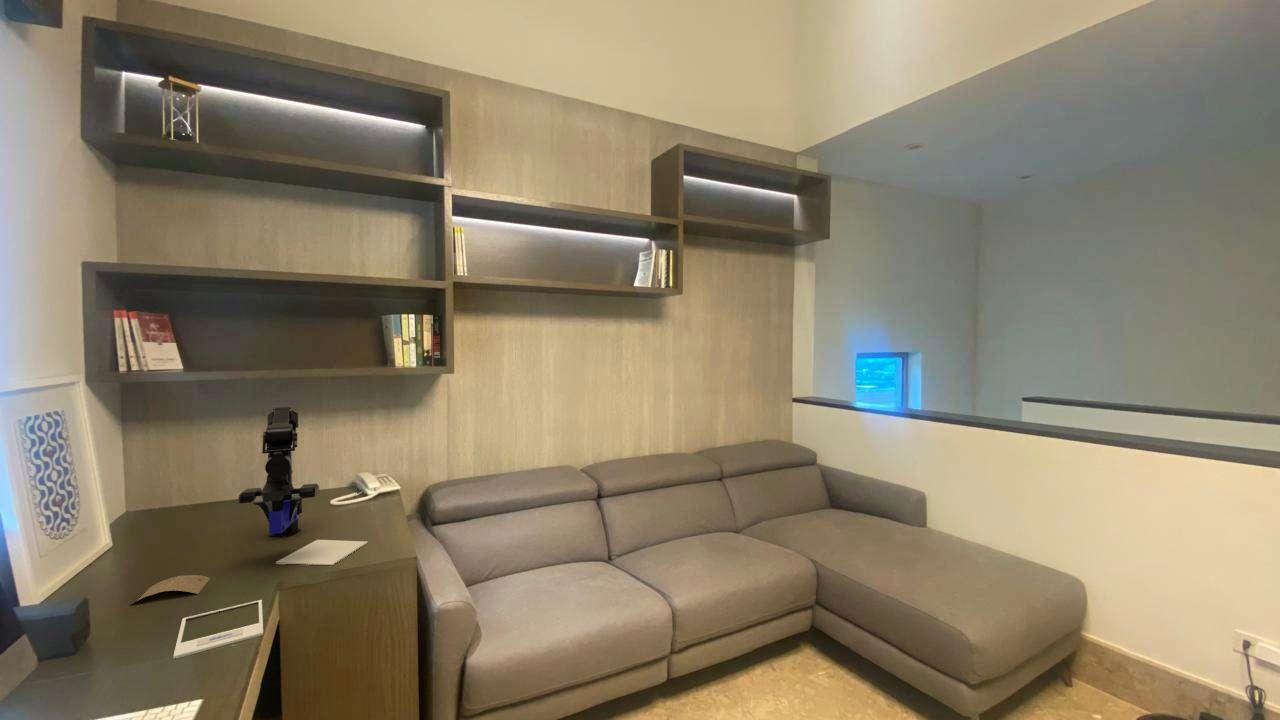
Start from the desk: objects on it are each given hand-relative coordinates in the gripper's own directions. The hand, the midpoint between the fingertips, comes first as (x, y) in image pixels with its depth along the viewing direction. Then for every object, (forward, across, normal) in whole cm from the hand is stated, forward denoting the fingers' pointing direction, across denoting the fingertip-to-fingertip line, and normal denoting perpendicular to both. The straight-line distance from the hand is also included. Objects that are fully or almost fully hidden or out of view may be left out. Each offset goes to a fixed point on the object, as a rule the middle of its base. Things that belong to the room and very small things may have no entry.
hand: (280, 522), depth 151 cm
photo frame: (+12, -1, -38) cm, 40 cm away
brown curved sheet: (+12, -20, -14) cm, 27 cm away
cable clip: (+2, 0, 0) cm, 2 cm away
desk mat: (+11, +11, 0) cm, 15 cm away
